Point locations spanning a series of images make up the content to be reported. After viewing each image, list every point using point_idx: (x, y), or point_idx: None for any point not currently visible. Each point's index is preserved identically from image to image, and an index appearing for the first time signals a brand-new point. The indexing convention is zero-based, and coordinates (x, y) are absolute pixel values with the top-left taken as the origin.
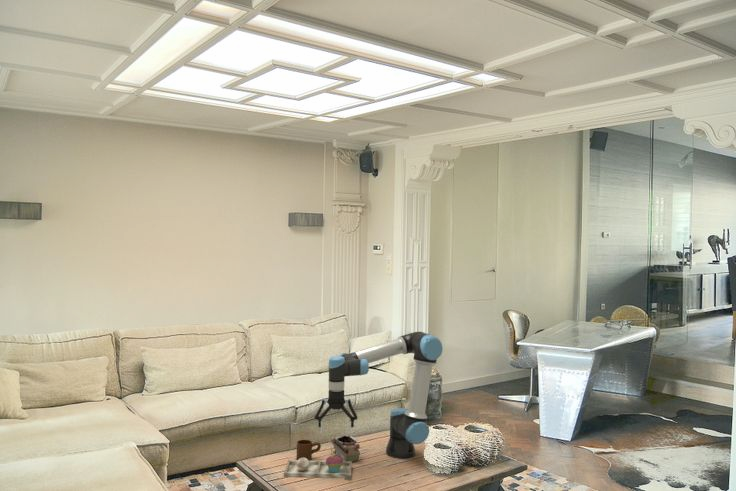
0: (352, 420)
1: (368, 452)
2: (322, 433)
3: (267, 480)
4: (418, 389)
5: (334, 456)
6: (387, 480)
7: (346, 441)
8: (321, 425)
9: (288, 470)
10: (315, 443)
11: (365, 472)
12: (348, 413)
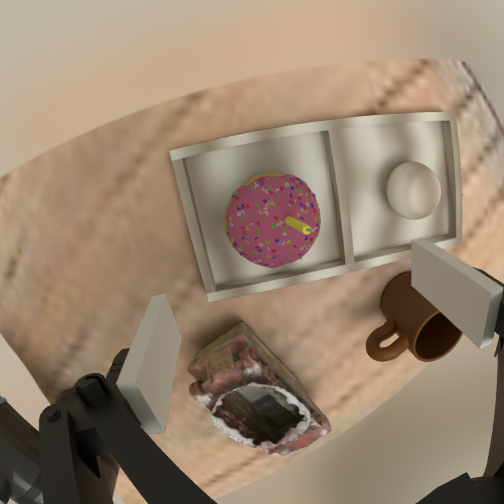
0: (88, 381)
1: (189, 417)
2: (413, 262)
3: (478, 92)
4: None
5: (278, 227)
6: (41, 195)
7: (270, 437)
8: (467, 270)
9: (445, 174)
10: (395, 347)
11: (135, 248)
12: (133, 476)
